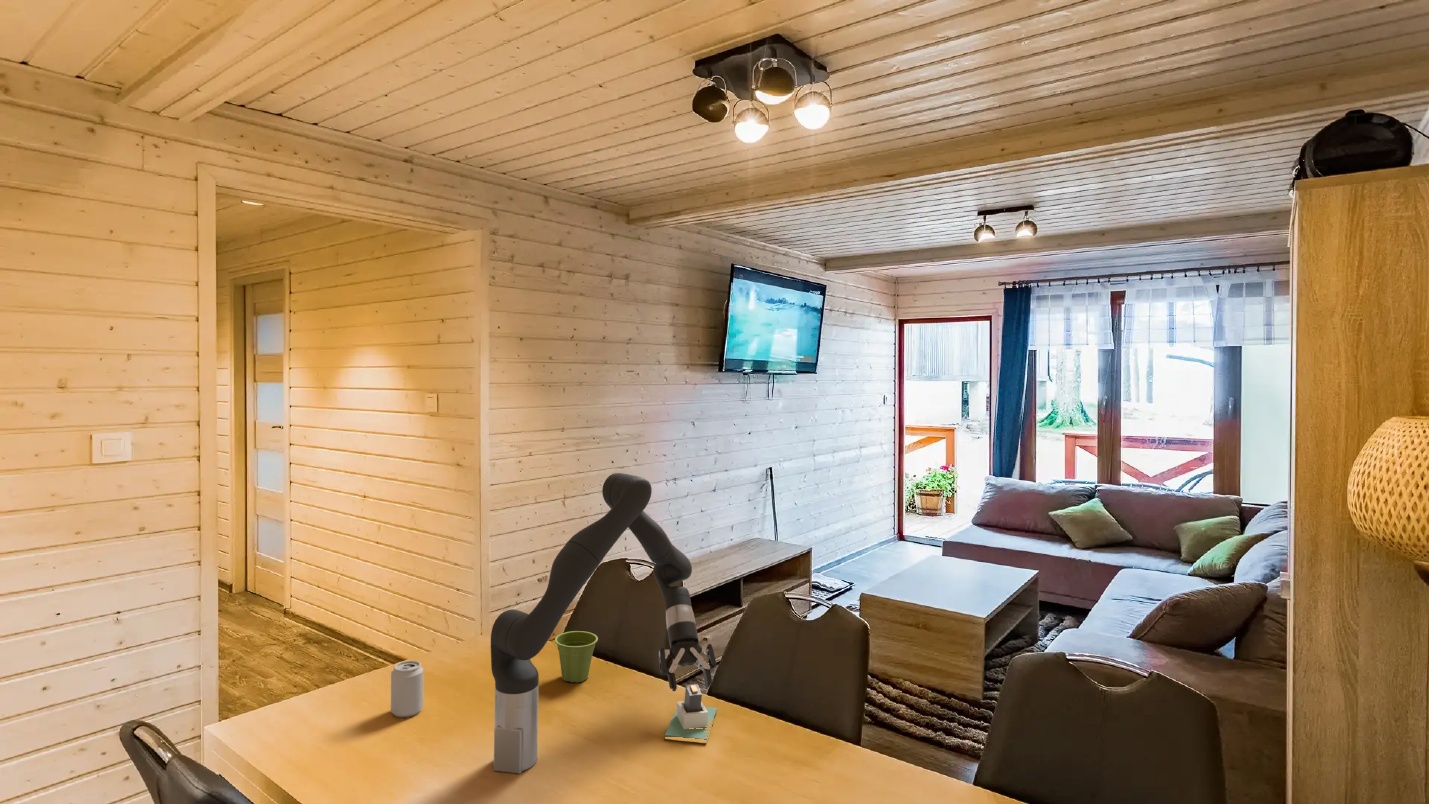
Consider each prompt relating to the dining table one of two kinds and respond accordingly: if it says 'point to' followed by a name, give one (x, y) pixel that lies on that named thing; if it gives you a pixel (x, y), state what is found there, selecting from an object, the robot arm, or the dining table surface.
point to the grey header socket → (692, 717)
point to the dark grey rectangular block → (692, 698)
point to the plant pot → (575, 654)
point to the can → (406, 689)
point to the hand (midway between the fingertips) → (691, 688)
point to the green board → (678, 731)
